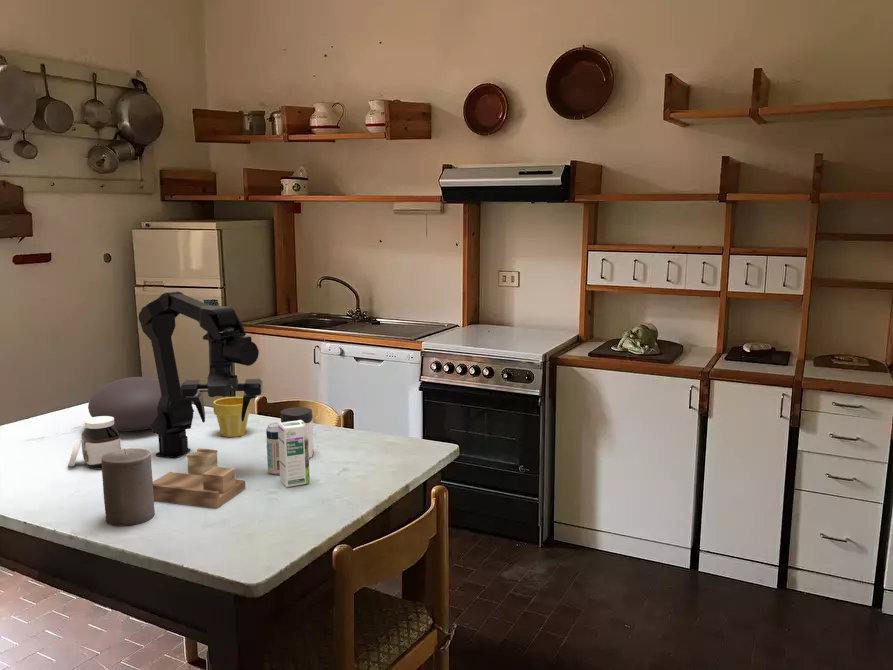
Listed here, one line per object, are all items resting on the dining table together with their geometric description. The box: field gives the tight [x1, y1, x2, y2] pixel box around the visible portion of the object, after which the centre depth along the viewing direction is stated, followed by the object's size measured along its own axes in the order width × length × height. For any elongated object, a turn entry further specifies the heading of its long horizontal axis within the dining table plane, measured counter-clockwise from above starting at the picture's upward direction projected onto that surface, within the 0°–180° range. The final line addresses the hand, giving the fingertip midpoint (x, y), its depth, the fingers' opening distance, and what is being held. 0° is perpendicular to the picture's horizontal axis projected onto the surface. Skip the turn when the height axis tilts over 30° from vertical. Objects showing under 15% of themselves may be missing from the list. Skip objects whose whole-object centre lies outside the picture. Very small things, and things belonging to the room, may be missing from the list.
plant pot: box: [212, 396, 252, 438], centre depth 217 cm, size 10×10×10 cm
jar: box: [280, 406, 315, 459], centre depth 199 cm, size 9×8×12 cm
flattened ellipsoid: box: [87, 376, 161, 432], centre depth 221 cm, size 25×25×15 cm
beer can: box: [265, 422, 280, 476], centre depth 186 cm, size 5×5×12 cm
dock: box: [153, 471, 246, 509], centre depth 173 cm, size 20×12×4 cm, turn 75°
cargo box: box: [203, 466, 236, 493], centre depth 171 cm, size 5×5×4 cm
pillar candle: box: [101, 447, 155, 527], centre depth 159 cm, size 10×10×15 cm
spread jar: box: [67, 416, 122, 469], centre depth 191 cm, size 12×11×12 cm
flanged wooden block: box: [186, 447, 219, 476], centre depth 185 cm, size 5×5×6 cm
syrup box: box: [277, 420, 311, 488], centre depth 179 cm, size 6×6×14 cm
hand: (223, 421), depth 186 cm, fingers open, 9 cm apart
